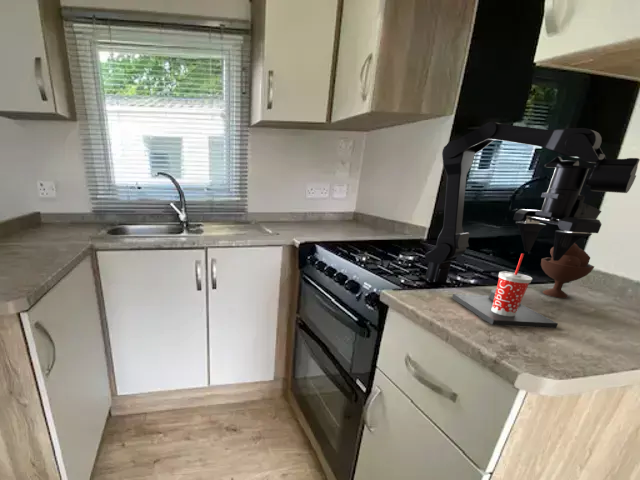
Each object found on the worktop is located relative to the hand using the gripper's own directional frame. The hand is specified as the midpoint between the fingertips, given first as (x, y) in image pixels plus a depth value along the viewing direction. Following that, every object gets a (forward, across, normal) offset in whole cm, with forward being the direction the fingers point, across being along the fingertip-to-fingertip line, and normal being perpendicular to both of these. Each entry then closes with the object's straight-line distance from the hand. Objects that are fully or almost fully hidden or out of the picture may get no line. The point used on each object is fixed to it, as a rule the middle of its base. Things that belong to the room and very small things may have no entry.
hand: (540, 255), depth 87 cm
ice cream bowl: (+13, +10, -16) cm, 23 cm away
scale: (+13, -6, +10) cm, 17 cm away
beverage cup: (+12, -9, +12) cm, 19 cm away
